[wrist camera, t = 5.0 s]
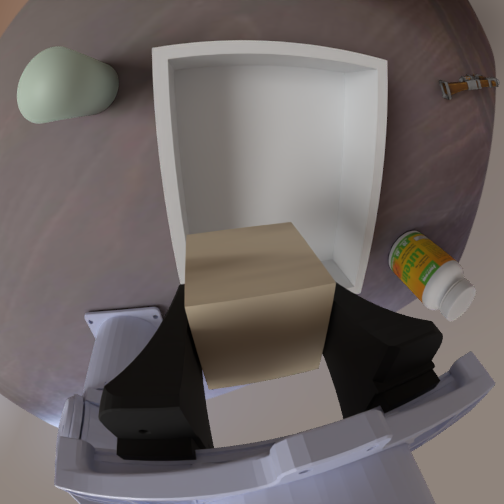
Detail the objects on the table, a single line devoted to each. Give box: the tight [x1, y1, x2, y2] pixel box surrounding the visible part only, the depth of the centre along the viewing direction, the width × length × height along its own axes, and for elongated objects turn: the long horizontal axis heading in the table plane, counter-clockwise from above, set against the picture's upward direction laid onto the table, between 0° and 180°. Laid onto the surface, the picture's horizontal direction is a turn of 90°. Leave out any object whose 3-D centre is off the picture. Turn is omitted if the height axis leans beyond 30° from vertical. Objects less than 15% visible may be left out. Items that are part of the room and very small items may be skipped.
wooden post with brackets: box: [439, 74, 500, 100], centre depth 16 cm, size 2×8×4 cm, turn 119°
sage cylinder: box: [17, 46, 119, 123], centre depth 11 cm, size 4×4×7 cm
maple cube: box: [185, 222, 336, 389], centre depth 12 cm, size 5×5×5 cm
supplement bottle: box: [389, 231, 476, 321], centre depth 23 cm, size 5×5×10 cm
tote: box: [152, 40, 388, 294], centre depth 18 cm, size 18×14×5 cm
